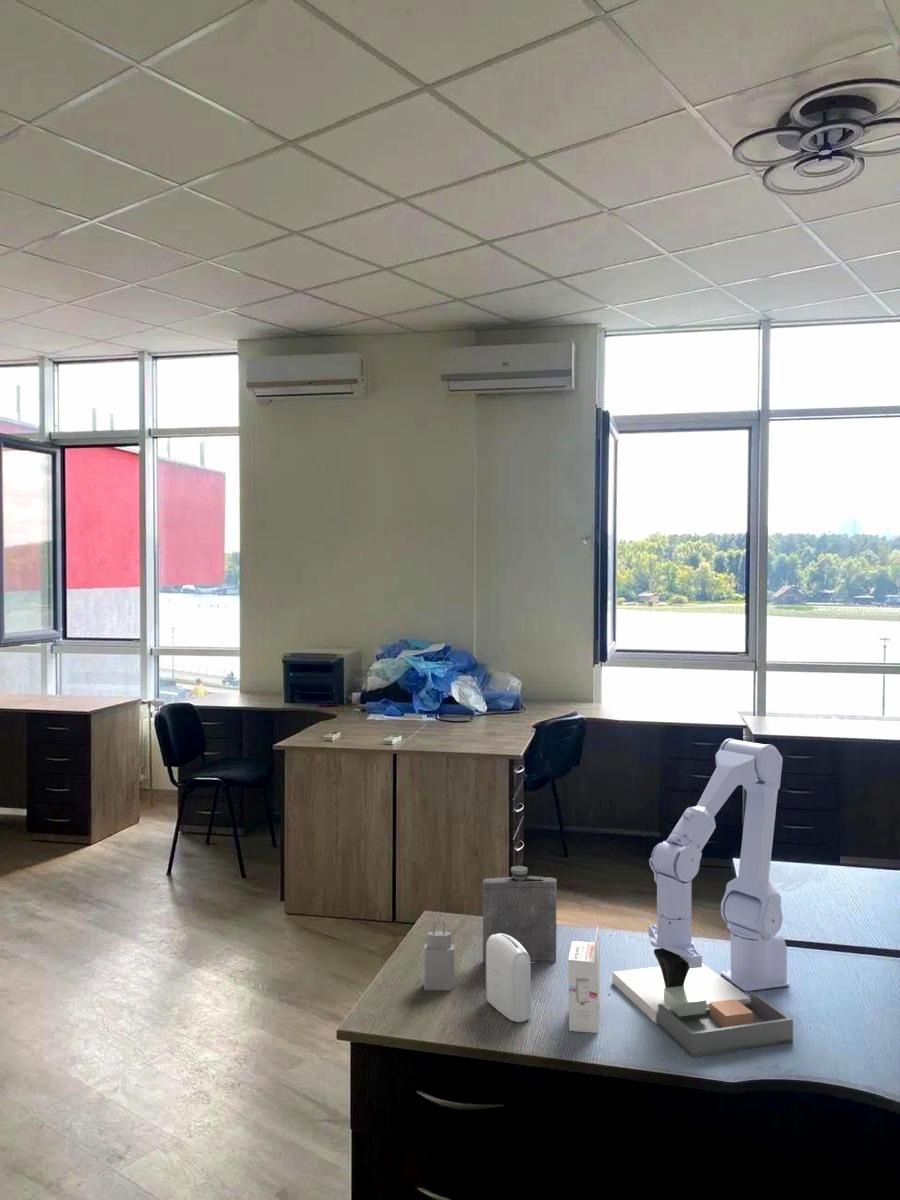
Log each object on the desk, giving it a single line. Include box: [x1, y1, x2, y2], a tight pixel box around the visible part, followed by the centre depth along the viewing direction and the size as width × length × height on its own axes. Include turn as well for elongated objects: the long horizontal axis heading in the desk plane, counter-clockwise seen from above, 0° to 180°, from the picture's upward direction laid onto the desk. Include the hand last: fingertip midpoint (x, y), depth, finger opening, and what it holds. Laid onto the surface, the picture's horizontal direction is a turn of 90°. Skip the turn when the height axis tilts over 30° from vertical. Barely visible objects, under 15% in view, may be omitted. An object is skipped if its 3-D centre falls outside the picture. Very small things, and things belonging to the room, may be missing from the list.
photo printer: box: [485, 933, 532, 1023], centre depth 151 cm, size 10×4×12 cm, turn 26°
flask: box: [482, 865, 557, 965], centre depth 171 cm, size 4×14×18 cm, turn 94°
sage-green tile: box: [664, 985, 706, 1017], centre depth 148 cm, size 5×5×2 cm
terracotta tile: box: [709, 999, 753, 1028], centre depth 146 cm, size 5×5×2 cm
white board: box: [612, 962, 750, 1024], centre depth 156 cm, size 18×16×2 cm
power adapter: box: [423, 919, 455, 991], centre depth 160 cm, size 3×5×12 cm, turn 91°
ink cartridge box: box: [567, 925, 601, 1034], centre depth 147 cm, size 9×5×15 cm, turn 168°
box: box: [655, 991, 794, 1058], centre depth 143 cm, size 18×11×4 cm, turn 106°
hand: (674, 993), depth 151 cm, fingers closed
